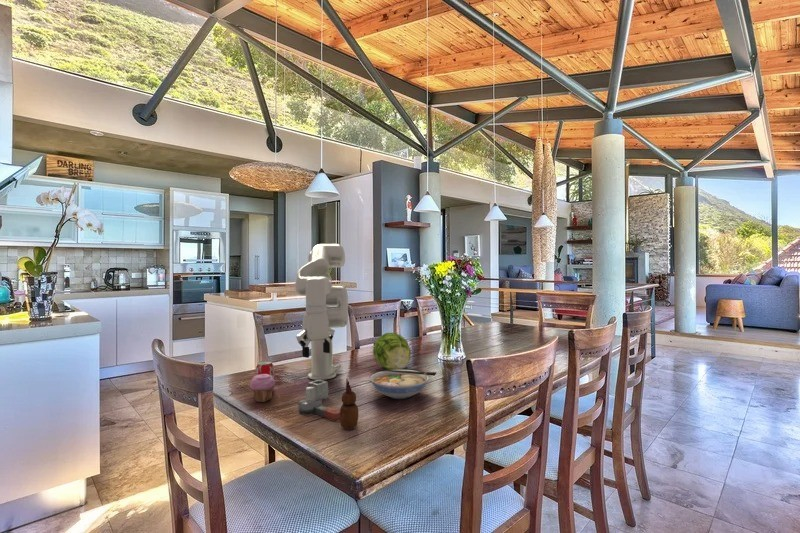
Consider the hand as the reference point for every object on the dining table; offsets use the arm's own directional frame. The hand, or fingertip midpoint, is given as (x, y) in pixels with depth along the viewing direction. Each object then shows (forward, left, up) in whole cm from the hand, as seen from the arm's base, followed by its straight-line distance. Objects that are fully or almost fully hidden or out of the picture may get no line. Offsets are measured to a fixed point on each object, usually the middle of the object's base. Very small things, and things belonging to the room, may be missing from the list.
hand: (316, 354), depth 157 cm
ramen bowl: (-22, +23, -17) cm, 36 cm away
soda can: (+8, -22, -17) cm, 29 cm away
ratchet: (+9, +14, -16) cm, 24 cm away
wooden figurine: (+11, +30, -17) cm, 36 cm away
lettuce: (-50, -4, -17) cm, 52 cm away
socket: (-1, 0, -17) cm, 17 cm away
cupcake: (+14, -14, -17) cm, 26 cm away
